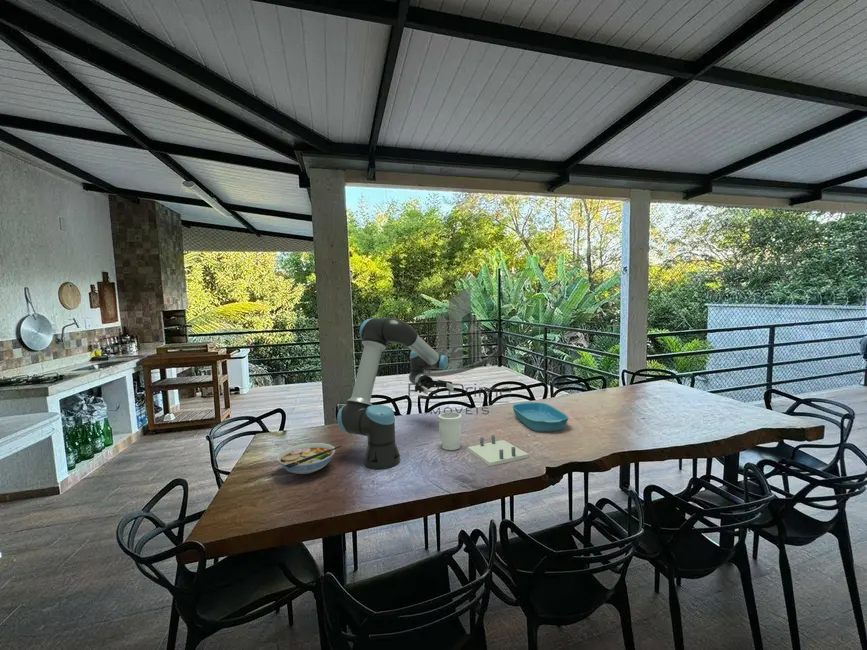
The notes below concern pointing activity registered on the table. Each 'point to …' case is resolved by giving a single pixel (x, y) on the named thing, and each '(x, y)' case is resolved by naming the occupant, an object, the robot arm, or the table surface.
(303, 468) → the ramen bowl
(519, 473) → the table surface
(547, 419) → the casserole dish
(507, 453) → the tray
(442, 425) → the jar
